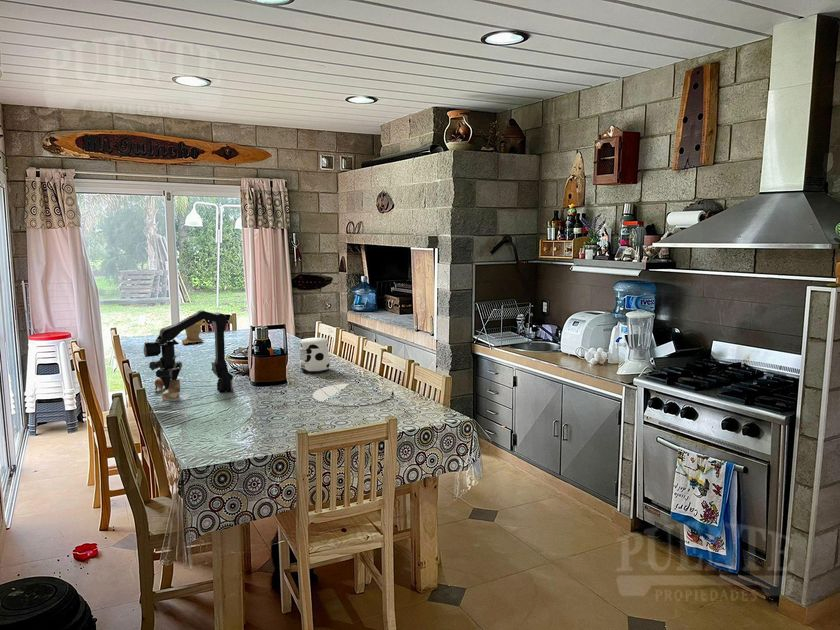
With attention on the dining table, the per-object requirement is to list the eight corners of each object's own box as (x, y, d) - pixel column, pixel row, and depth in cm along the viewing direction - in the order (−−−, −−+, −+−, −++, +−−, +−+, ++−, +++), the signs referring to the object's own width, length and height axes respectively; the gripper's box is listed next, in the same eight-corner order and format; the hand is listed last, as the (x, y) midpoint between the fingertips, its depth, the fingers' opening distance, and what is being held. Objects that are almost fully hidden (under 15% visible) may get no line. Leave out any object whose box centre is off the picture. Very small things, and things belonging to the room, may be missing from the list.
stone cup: (198, 340, 443) (197, 320, 440) (205, 342, 434) (204, 322, 432) (177, 343, 432) (176, 322, 430) (184, 345, 424) (183, 324, 422)
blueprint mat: (191, 396, 296) (191, 394, 296) (184, 402, 286) (184, 400, 286) (166, 396, 295) (166, 394, 295) (158, 402, 286) (158, 400, 285)
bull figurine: (177, 387, 313) (176, 372, 312) (159, 394, 300) (158, 378, 299) (170, 387, 314) (169, 371, 313) (152, 393, 301) (151, 377, 300)
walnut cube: (180, 389, 294) (179, 379, 293) (179, 392, 289) (179, 381, 288) (169, 390, 292) (168, 380, 291) (168, 393, 288) (167, 382, 287)
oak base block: (179, 395, 294) (179, 389, 293) (175, 399, 288) (174, 393, 287) (166, 396, 293) (166, 390, 293) (162, 399, 287) (162, 393, 287)
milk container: (333, 367, 356) (332, 337, 353) (326, 374, 339) (325, 343, 336) (304, 367, 358) (303, 337, 355) (295, 374, 341) (294, 342, 338)
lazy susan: (377, 382, 324) (377, 375, 324) (407, 400, 289) (407, 393, 289) (303, 390, 307) (303, 384, 307) (325, 411, 272) (325, 404, 272)
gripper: (158, 350, 296) (160, 381, 299) (143, 358, 278) (145, 392, 280) (181, 350, 297) (183, 381, 299) (167, 358, 278) (170, 391, 281)
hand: (170, 386), depth 290 cm, fingers open, 9 cm apart
